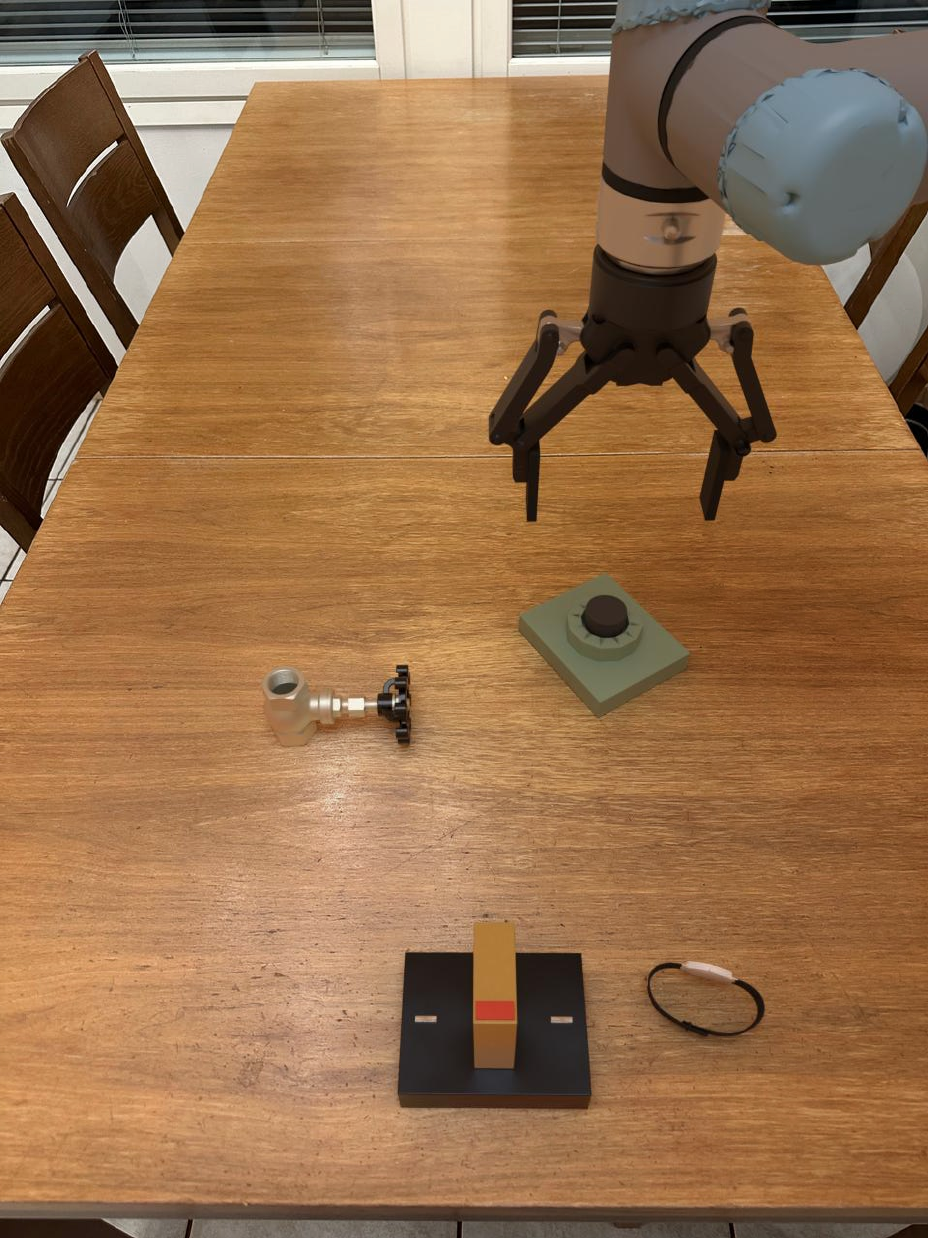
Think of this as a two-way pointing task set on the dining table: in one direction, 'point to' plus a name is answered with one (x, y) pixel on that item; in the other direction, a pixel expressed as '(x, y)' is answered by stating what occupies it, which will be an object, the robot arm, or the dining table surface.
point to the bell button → (605, 616)
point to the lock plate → (445, 1043)
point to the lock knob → (494, 995)
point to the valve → (328, 705)
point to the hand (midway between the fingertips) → (618, 510)
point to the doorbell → (602, 647)
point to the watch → (711, 974)
